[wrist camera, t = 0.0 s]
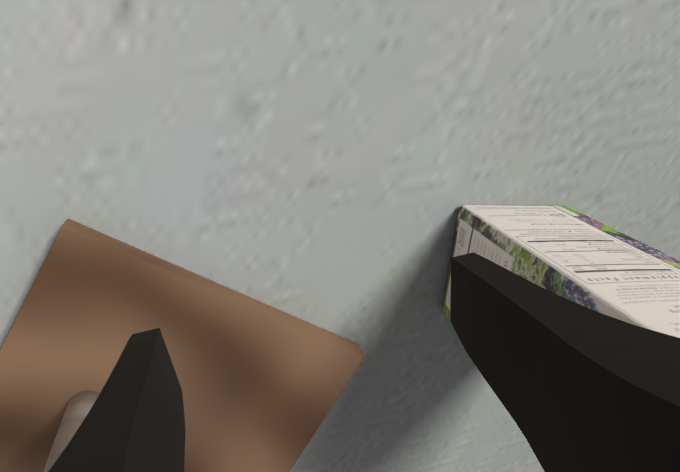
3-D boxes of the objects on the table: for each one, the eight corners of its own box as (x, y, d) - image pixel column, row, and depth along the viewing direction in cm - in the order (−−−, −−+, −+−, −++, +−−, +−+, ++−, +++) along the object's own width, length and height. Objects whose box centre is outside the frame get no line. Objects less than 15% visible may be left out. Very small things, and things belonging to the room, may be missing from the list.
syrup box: (539, 308, 28) (840, 548, 15) (435, 312, 27) (665, 582, 13) (563, 203, 26) (930, 371, 13) (452, 201, 25) (740, 388, 12)
